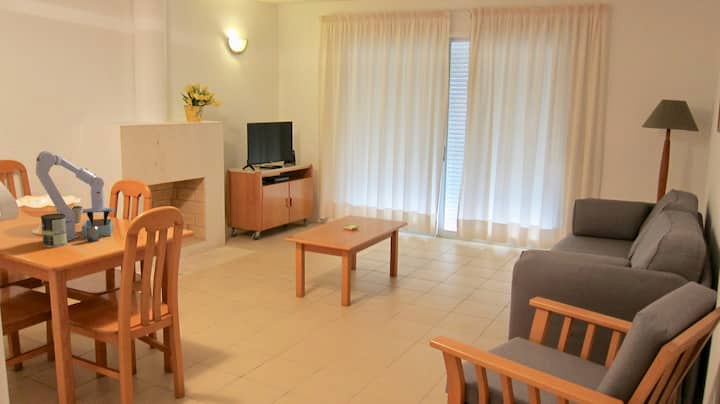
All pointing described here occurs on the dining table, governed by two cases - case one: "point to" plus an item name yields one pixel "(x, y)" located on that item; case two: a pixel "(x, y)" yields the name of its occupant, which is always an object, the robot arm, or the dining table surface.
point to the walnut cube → (98, 222)
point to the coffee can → (54, 230)
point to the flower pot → (77, 213)
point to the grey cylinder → (92, 234)
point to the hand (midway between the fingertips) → (99, 226)
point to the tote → (99, 228)
